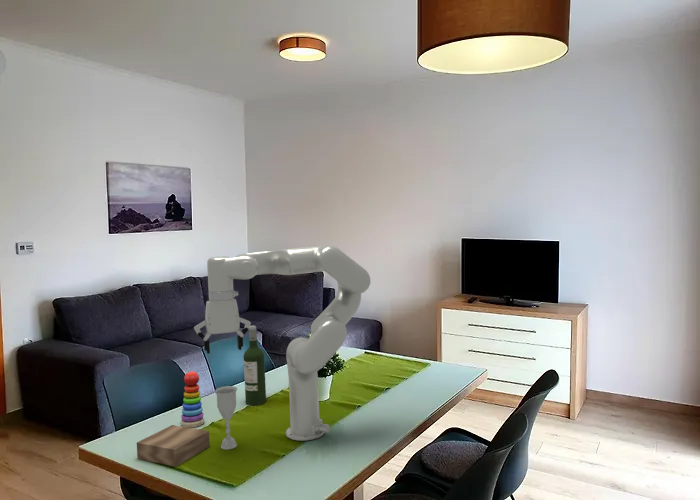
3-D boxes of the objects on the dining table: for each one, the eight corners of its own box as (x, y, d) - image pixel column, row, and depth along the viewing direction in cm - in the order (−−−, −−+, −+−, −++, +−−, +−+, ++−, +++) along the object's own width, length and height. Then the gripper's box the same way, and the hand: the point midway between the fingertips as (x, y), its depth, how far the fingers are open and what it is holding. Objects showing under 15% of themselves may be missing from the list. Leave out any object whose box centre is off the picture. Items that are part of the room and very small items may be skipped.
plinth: (209, 446, 172) (208, 431, 172) (175, 466, 159) (175, 449, 158) (173, 440, 178) (172, 425, 178) (137, 458, 165) (136, 442, 165)
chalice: (234, 451, 168) (231, 393, 167) (213, 450, 169) (210, 393, 168) (243, 441, 175) (240, 386, 174) (223, 440, 176) (221, 385, 175)
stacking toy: (183, 430, 187) (180, 376, 186) (179, 422, 194) (176, 370, 193) (206, 425, 190) (204, 372, 189) (201, 418, 197) (199, 367, 196)
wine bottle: (241, 404, 211) (238, 327, 209) (252, 398, 218) (249, 323, 217) (259, 406, 208) (255, 328, 206) (270, 400, 215) (266, 324, 214)
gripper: (247, 292, 176) (249, 345, 177) (191, 297, 170) (194, 351, 171) (251, 295, 169) (253, 350, 170) (193, 300, 163) (196, 356, 164)
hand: (224, 350), depth 171 cm, fingers open, 9 cm apart
